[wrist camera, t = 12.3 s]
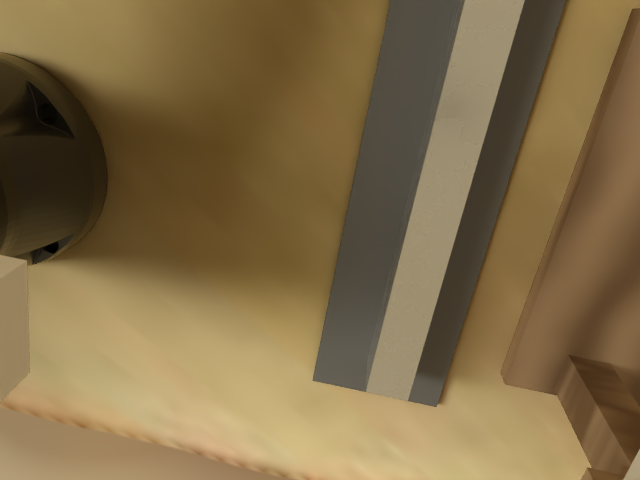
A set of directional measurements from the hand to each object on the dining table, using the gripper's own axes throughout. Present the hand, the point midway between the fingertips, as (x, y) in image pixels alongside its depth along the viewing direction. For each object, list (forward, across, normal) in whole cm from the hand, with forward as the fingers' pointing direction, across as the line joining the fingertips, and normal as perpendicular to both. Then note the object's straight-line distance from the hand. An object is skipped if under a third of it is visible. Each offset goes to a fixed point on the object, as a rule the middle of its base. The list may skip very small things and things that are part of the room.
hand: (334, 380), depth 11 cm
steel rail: (+26, +6, -3) cm, 27 cm away
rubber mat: (+27, +5, -3) cm, 27 cm away
